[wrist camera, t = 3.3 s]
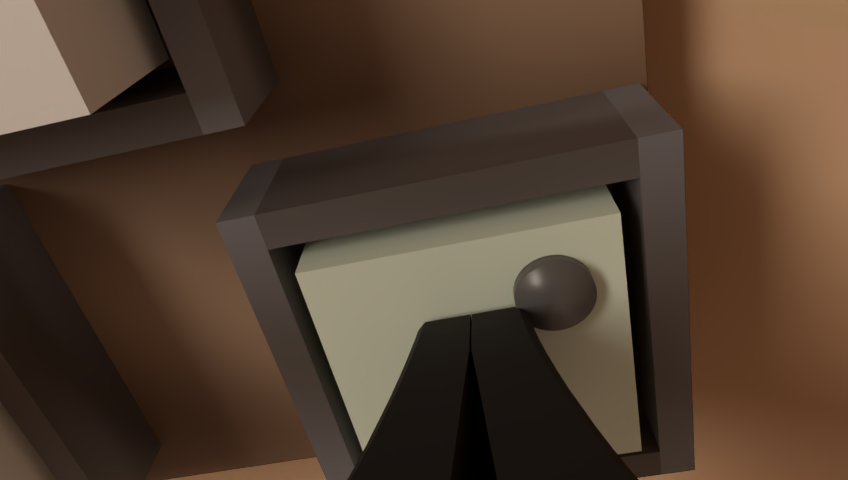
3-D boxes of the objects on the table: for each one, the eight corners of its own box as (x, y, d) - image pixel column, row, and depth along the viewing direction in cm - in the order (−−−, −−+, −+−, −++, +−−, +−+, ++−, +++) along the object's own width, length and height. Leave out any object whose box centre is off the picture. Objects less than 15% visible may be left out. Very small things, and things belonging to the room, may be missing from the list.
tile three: (610, 361, 11) (645, 461, 9) (386, 396, 12) (375, 498, 10) (586, 149, 9) (624, 221, 7) (320, 202, 10) (291, 282, 8)
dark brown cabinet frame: (647, 360, 13) (701, 486, 10) (-33, 468, 15) (-135, 598, 12) (574, -612, 7) (663, -923, 4) (-588, -211, 8) (-1042, -245, 6)
